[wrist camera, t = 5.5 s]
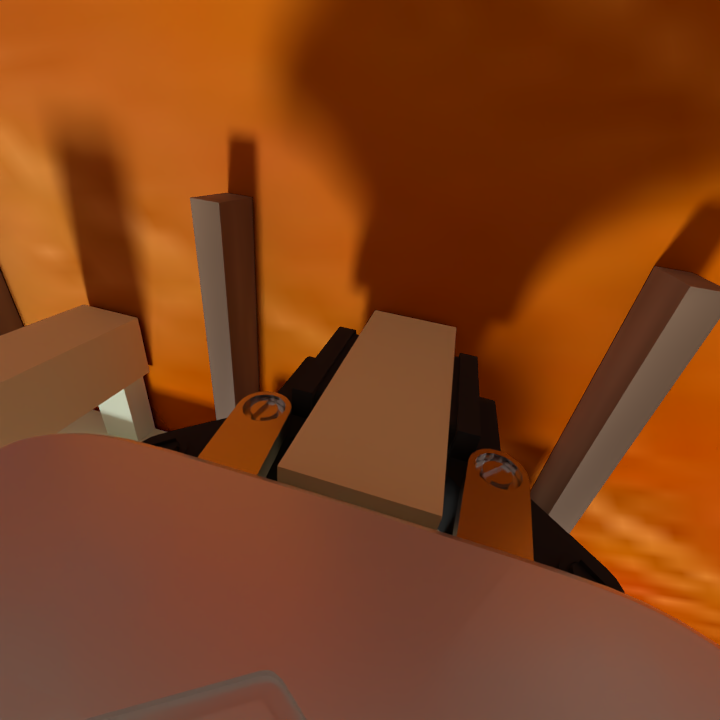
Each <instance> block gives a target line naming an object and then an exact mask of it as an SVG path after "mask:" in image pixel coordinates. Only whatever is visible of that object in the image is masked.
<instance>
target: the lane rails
mask: <svg viewBox="0 0 720 720" xmlns="http://www.w3.org/2000/svg"><path fill="white" fill-rule="evenodd" d="M190 200H191V209H192V217H193V226H194V234H195V243H196V251H197V260H198V268H199V277H200V285H201V293H202V302H203V310H204V319H205V327H206V336H207V344H208V353H209V361H210V370H211V378H212V386H213V395H214V403H215V412H216V420H220V419H224V418H227V417H228V416H229V415H230V413H231V412H232V411H233V409H234V408H235V407H236V405H237V404H238V403H239V402H240V401H241V400H242V399H243V398H244V397H246V396H248V395H250V394H253V393H256V392H259V369H258V341H257V313H256V284H255V256H254V228H253V199H252V197H248V196H243V195H237V194H231V193H222V194H214V195H207V196H199V197H191V198H190ZM719 319H720V286H718V285H716V284H714V283H712V282H710V281H708V280H706V279H704V278H702V277H700V276H698V275H696V274H694V273H692V272H686V271H680V270H675V269H669V268H663V267H657V266H654V268H653V270H652V272H651V274H650V275H649V277H648V279H647V281H646V283H645V285H644V286H643V288H642V290H641V292H640V294H639V295H638V297H637V299H636V301H635V303H634V305H633V306H632V308H631V310H630V312H629V314H628V315H627V317H626V319H625V321H624V323H623V324H622V326H621V328H620V330H619V332H618V334H617V335H616V337H615V339H614V341H613V343H612V344H611V346H610V348H609V350H608V352H607V354H606V355H605V357H604V359H603V361H602V363H601V364H600V366H599V368H598V370H597V372H596V374H595V375H594V377H593V379H592V381H591V383H590V384H589V386H588V388H587V390H586V392H585V393H584V395H583V397H582V399H581V401H580V403H579V404H578V406H577V408H576V410H575V412H574V413H573V415H572V417H571V419H570V421H569V423H568V424H567V426H566V428H565V430H564V432H563V433H562V435H561V437H560V439H559V441H558V443H557V444H556V446H555V448H554V450H553V452H552V453H551V455H550V457H549V459H548V461H547V462H546V464H545V466H544V468H543V470H542V472H541V473H540V475H539V477H538V479H537V481H536V482H535V484H534V486H533V488H532V490H531V492H530V498H531V499H532V500H533V501H534V502H535V503H536V504H537V505H538V506H539V507H540V508H541V509H542V510H544V511H545V512H546V513H547V514H548V515H549V516H550V517H551V518H552V519H553V520H554V521H556V522H557V523H558V524H559V525H560V526H561V527H562V528H563V529H564V530H565V531H566V532H567V533H570V532H571V530H572V529H573V527H574V526H575V525H576V523H577V522H578V520H579V519H580V517H581V516H582V515H583V513H584V512H585V510H586V509H587V507H588V506H589V505H590V503H591V502H592V500H593V499H594V497H595V496H596V495H597V493H598V492H599V490H600V489H601V487H602V486H603V485H604V483H605V482H606V480H607V479H608V477H609V476H610V475H611V473H612V472H613V470H614V469H615V467H616V466H617V465H618V463H619V462H620V460H621V459H622V457H623V456H624V455H625V453H626V452H627V450H628V449H629V447H630V446H631V445H632V443H633V442H634V440H635V439H636V437H637V436H638V435H639V433H640V432H641V430H642V429H643V427H644V426H645V425H646V423H647V422H648V420H649V419H650V417H651V416H652V415H653V413H654V412H655V410H656V409H657V407H658V406H659V405H660V403H661V402H662V400H663V399H664V397H665V396H666V395H667V393H668V392H669V390H670V389H671V387H672V386H673V385H674V383H675V382H676V380H677V379H678V377H679V376H680V375H681V373H682V372H683V370H684V369H685V367H686V366H687V365H688V363H689V362H690V360H691V359H692V357H693V356H694V355H695V353H696V352H697V350H698V349H699V347H700V346H701V345H702V343H703V342H704V340H705V339H706V337H707V336H708V335H709V333H710V332H711V330H712V329H713V327H714V326H715V325H716V323H717V322H718V320H719ZM22 327H23V325H22V322H21V320H20V317H19V315H18V313H17V310H16V308H15V305H14V303H13V300H12V298H11V296H10V293H9V291H8V288H7V286H6V283H5V281H4V279H3V276H2V274H1V271H0V336H1V335H3V334H6V333H9V332H12V331H14V330H17V329H20V328H22Z"/></svg>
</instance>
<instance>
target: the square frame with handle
mask: <svg viewBox="0 0 720 720" xmlns="http://www.w3.org/2000/svg"><path fill="white" fill-rule="evenodd" d="M149 372H150V371H149V367H148V362H147V358H146V353H145V349H144V344H143V340H142V335H141V331H140V326H139V322H138V318H136V317H132V316H128V315H124V314H120V313H116V312H112V311H108V310H104V309H100V308H96V307H92V306H88V305H81V306H79V307H76V308H73V309H71V310H68V311H65V312H63V313H60V314H57V315H55V316H52V317H49V318H46V319H44V320H41V321H38V322H36V323H33V324H30V325H28V326H25V327H22V328H20V329H17V330H14V331H12V332H9V333H6V334H3V335H1V336H0V448H1V447H3V446H6V445H8V444H11V443H13V442H15V441H19V440H22V439H25V438H29V437H34V436H40V435H49V434H65V433H88V434H101V435H109V436H115V437H120V438H126V439H131V440H135V441H139V442H142V441H144V440H146V439H148V438H150V437H152V436H155V435H158V434H162V433H166V432H165V431H162V430H159V429H155V425H154V421H153V417H152V413H151V408H150V404H149V400H148V396H147V392H146V387H145V383H144V379H143V376H144V375H146V374H147V373H149ZM97 406H99V409H100V411H96V410H93V409H94V408H96V407H97Z"/></svg>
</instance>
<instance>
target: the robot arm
mask: <svg viewBox="0 0 720 720" xmlns="http://www.w3.org/2000/svg"><path fill="white" fill-rule="evenodd" d="M358 337H359V335H357V334H356V330H353V329H349V328H344V327H339V328H338V330H337V331H336V332H335V333H334V335H333V336H332V337H331V339H330V340H329V341H328V342H327V344H326V345H325V346H324V348H323V349H322V350H321V351H320V353H319V354H318V355H317V357H316V358H314V357H307V358H306V359H305V360H304V361H303V363H302V364H301V365H300V366H299V367H298V369H297V370H296V371H295V372H294V374H293V375H292V376H291V377H290V378H289V380H288V381H287V382H286V383H285V384H284V386H283V387H282V388H281V389H280V390H279V392H278V393H276V392H269V391H264V392H256V393H253V394H250V395H248V396H246V397H244V398H243V399H242V400H241V401H240V402H239V403H238V404H237V405H236V407H235V408H234V409H233V411H232V412H231V413H230V415H229V416H228V417H227V418H224V419H220V420H215V421H211V422H207V423H203V424H199V425H195V426H191V427H187V428H182V429H178V430H174V431H170V432H166V433H162V434H158V435H155V436H152V437H150V438H148V439H146V440H144V441H142V442H139V441H135V440H131V439H126V438H120V437H115V436H109V435H101V434H88V433H65V434H49V435H40V436H34V437H29V438H25V439H22V440H19V441H15V442H13V443H11V444H8V445H6V446H3V447H1V448H0V720H720V646H719V645H718V644H716V643H715V642H714V641H712V640H710V639H709V638H707V637H706V636H704V635H702V634H701V633H699V632H697V631H696V630H694V629H693V628H691V627H689V626H688V625H686V624H685V623H683V622H681V621H680V620H678V619H676V618H674V617H672V616H671V615H669V614H667V613H665V612H663V611H661V610H659V609H657V608H655V607H653V606H651V605H649V604H647V603H645V602H643V601H641V600H639V599H636V598H634V597H632V596H629V595H627V594H625V593H624V590H623V589H622V587H621V586H620V584H619V583H618V581H617V579H616V578H615V577H614V576H613V575H612V574H611V573H610V572H609V571H608V569H607V568H606V567H604V566H603V565H602V564H601V563H600V562H599V561H598V560H597V559H596V558H595V557H594V556H593V555H591V554H590V553H589V552H588V551H587V550H586V549H585V548H584V547H583V546H582V545H581V544H579V543H578V542H577V541H576V540H575V539H574V538H573V537H572V536H571V535H570V534H569V533H567V532H566V531H565V530H564V529H563V528H562V527H561V526H560V525H559V524H558V523H557V522H556V521H554V520H553V519H552V518H551V517H550V516H549V515H548V514H547V513H546V512H545V511H544V510H542V509H541V508H540V507H539V506H538V505H537V504H536V503H535V502H534V501H533V500H532V499H531V498H530V481H529V477H528V474H527V472H526V470H525V469H524V467H523V466H522V465H521V464H520V463H519V462H518V461H517V460H515V459H514V458H512V457H511V456H509V455H508V454H505V453H503V452H501V450H500V441H499V432H498V423H497V414H496V405H495V401H494V400H490V399H486V398H481V397H479V380H478V358H477V357H476V356H471V355H467V354H462V353H460V354H459V357H456V356H454V366H453V380H452V393H451V407H450V420H449V433H448V447H447V460H446V474H445V487H444V501H443V514H442V519H441V521H440V524H439V527H438V530H439V531H437V530H434V529H431V528H428V527H424V526H421V525H418V524H415V523H412V522H408V521H405V520H402V519H399V518H395V517H392V516H389V515H386V514H382V513H379V512H376V511H373V510H369V509H366V508H363V507H360V506H356V505H353V504H350V503H347V502H343V501H340V500H337V499H334V498H330V497H327V496H324V495H321V494H317V493H314V492H311V491H307V490H304V489H301V488H298V487H294V486H291V485H288V484H284V483H281V482H278V481H277V466H278V464H279V463H280V461H281V459H282V458H283V456H284V455H285V453H286V451H287V450H288V448H289V447H290V445H291V443H292V442H293V440H294V439H295V437H296V435H297V434H298V432H299V431H300V429H301V427H302V426H303V424H304V423H305V421H306V420H307V418H308V416H309V415H310V413H311V412H312V410H313V408H314V407H315V405H316V404H317V402H318V400H319V399H320V397H321V396H322V394H323V392H324V391H325V389H326V388H327V386H328V385H329V383H330V381H331V380H332V378H333V377H334V375H335V373H336V372H337V370H338V369H339V367H340V365H341V364H342V362H343V361H344V359H345V357H346V356H347V354H348V353H349V351H350V349H351V348H352V346H353V345H354V343H355V342H356V340H357V338H358Z"/></svg>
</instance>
